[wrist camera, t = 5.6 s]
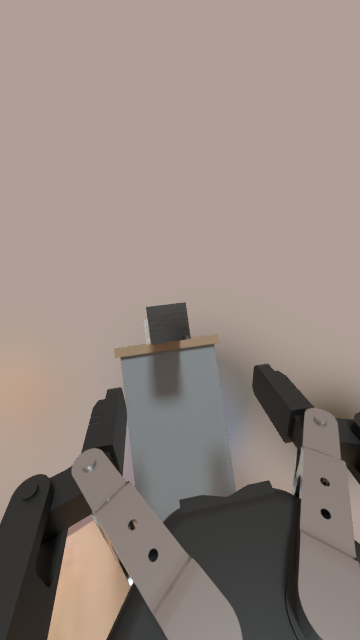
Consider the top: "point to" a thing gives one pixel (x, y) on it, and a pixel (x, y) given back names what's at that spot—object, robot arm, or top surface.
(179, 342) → the stand
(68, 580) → the top surface
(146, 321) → the grey rectangular bar
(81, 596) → the top surface
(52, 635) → the top surface
